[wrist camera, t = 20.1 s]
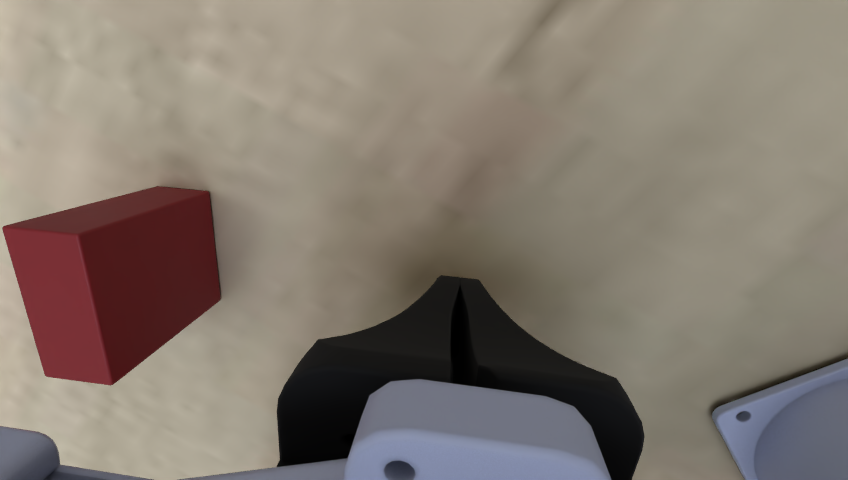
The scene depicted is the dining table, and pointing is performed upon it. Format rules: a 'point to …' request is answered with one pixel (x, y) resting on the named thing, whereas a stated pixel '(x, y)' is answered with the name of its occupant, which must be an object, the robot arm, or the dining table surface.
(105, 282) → the card box
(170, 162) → the dining table surface
